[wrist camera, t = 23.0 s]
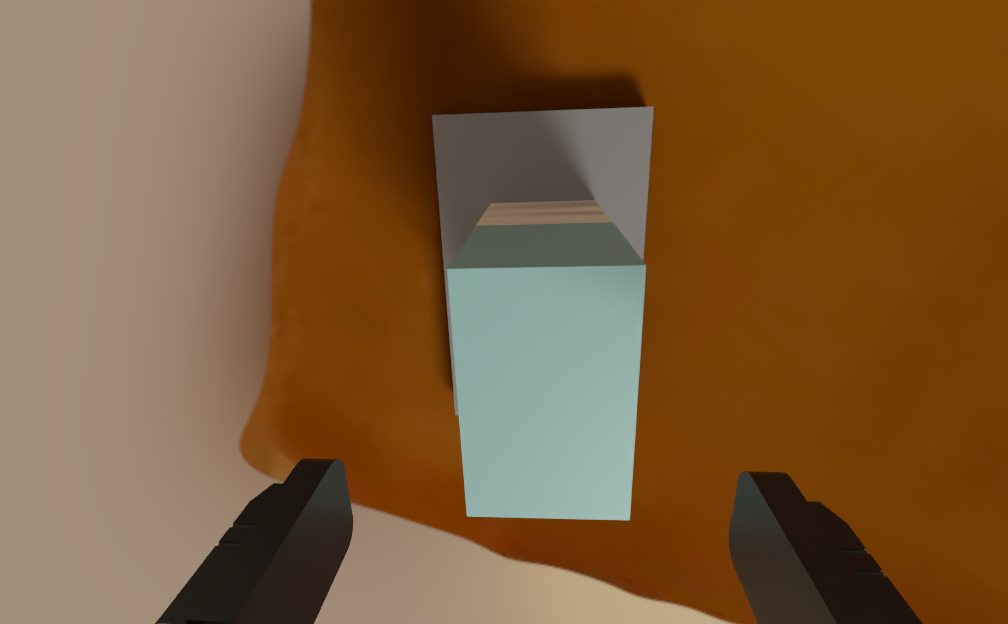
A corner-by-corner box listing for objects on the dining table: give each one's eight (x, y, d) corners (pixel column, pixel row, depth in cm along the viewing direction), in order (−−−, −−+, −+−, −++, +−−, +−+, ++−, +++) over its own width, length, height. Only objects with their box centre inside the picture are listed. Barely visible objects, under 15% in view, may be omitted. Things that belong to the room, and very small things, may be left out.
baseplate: (438, 115, 24) (431, 115, 23) (646, 107, 23) (653, 106, 22) (459, 401, 30) (455, 415, 28) (628, 403, 29) (632, 417, 27)
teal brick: (476, 225, 18) (446, 268, 13) (613, 222, 18) (646, 265, 12) (487, 412, 21) (466, 516, 15) (605, 413, 21) (629, 520, 15)
